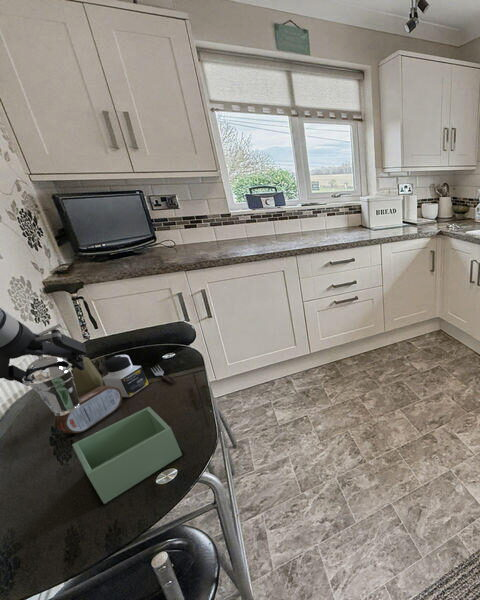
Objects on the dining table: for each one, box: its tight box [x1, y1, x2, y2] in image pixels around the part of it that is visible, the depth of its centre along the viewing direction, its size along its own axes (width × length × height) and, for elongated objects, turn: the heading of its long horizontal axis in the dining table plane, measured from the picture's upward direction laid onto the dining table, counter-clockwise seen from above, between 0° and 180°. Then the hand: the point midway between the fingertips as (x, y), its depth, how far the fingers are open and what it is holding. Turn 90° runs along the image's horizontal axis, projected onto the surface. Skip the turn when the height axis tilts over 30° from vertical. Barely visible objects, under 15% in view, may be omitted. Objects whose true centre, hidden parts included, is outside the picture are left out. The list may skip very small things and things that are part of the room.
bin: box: [71, 406, 183, 505], centre depth 74 cm, size 15×15×8 cm
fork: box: [151, 365, 174, 385], centre depth 110 cm, size 3×16×2 cm, turn 53°
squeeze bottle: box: [63, 355, 104, 398], centre depth 102 cm, size 8×8×18 cm
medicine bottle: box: [102, 354, 149, 398], centre depth 103 cm, size 7×7×12 cm
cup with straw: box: [22, 323, 81, 417], centre depth 74 cm, size 8×9×20 cm
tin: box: [56, 384, 123, 434], centre depth 90 cm, size 15×3×8 cm, turn 168°
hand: (55, 372), depth 77 cm, fingers closed on cup with straw, 8 cm apart
